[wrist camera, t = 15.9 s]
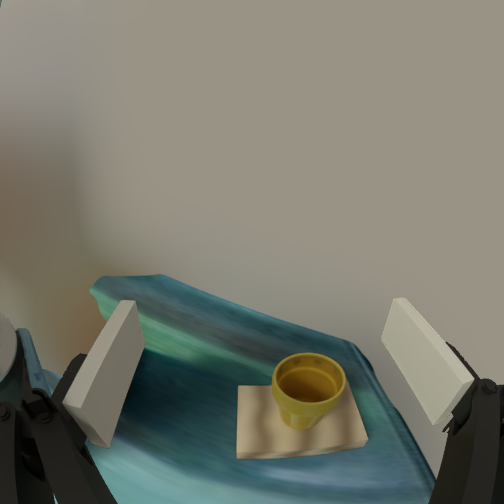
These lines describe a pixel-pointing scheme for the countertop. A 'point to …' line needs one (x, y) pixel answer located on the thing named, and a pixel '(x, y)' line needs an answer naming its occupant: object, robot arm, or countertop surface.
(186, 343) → the countertop surface
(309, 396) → the plant pot
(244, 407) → the birch stand
